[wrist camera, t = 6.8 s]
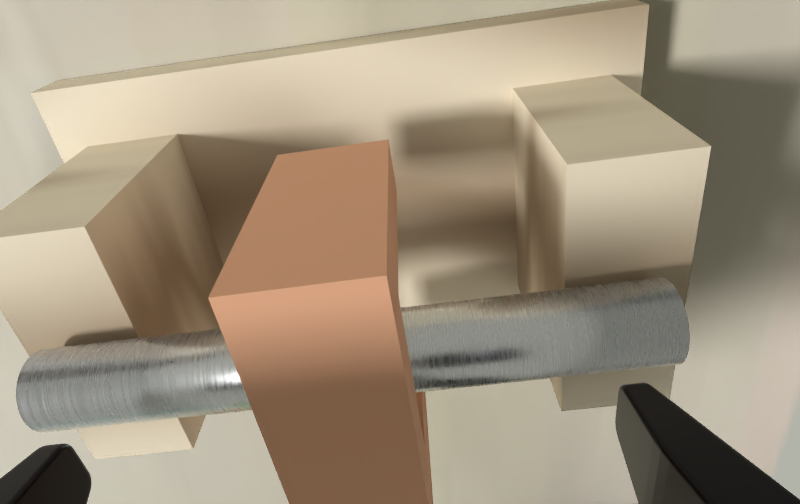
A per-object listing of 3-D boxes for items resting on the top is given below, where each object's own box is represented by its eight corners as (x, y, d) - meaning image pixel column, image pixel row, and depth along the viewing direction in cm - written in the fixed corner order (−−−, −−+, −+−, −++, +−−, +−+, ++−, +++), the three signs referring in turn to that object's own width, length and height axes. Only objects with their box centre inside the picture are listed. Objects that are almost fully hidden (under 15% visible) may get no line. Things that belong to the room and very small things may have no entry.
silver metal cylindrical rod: (647, 327, 11) (682, 383, 10) (84, 389, 12) (43, 450, 11) (655, 261, 10) (694, 312, 9) (50, 332, 11) (2, 389, 10)
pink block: (422, 353, 15) (436, 541, 10) (333, 363, 15) (308, 553, 10) (388, 139, 12) (386, 275, 7) (277, 155, 12) (207, 297, 7)
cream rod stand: (608, 290, 18) (696, 441, 13) (172, 340, 19) (89, 501, 14) (630, -2, 14) (780, 46, 8) (56, 80, 15) (-136, 172, 9)
